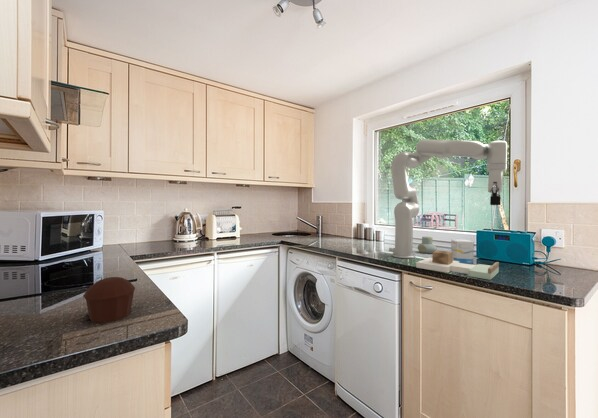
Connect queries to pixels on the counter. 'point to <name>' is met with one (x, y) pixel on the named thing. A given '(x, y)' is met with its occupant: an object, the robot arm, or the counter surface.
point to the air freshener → (427, 246)
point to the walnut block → (442, 257)
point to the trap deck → (461, 268)
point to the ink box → (462, 251)
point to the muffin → (109, 299)
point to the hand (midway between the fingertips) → (495, 205)
